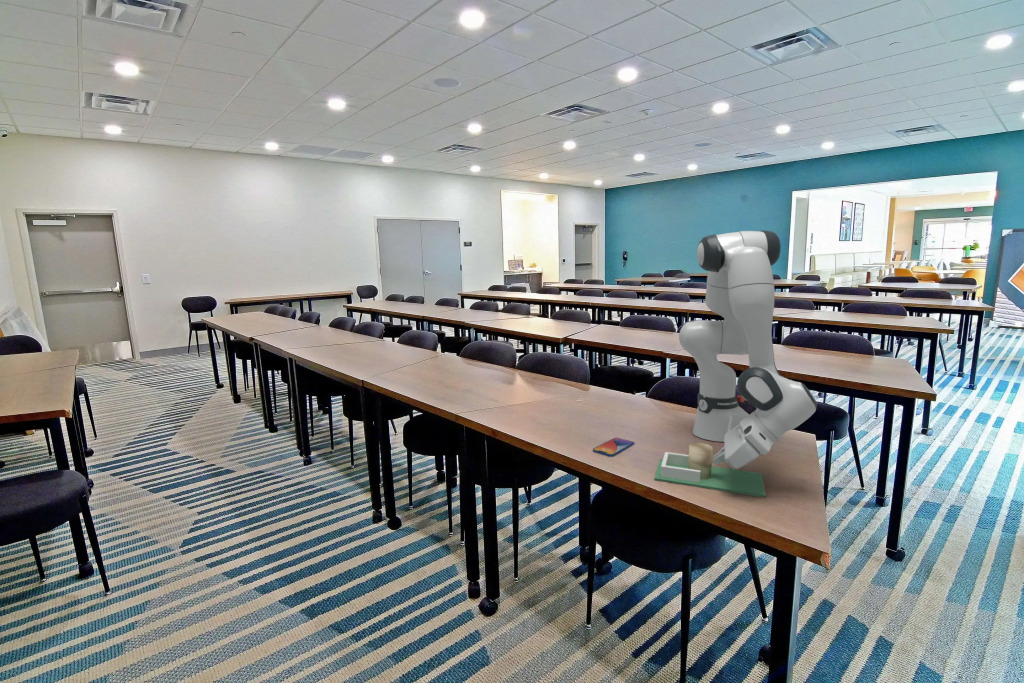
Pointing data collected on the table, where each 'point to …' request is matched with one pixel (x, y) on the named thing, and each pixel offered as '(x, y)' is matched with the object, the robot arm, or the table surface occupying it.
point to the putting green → (722, 479)
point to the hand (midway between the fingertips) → (714, 461)
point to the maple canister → (701, 459)
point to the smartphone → (613, 447)
